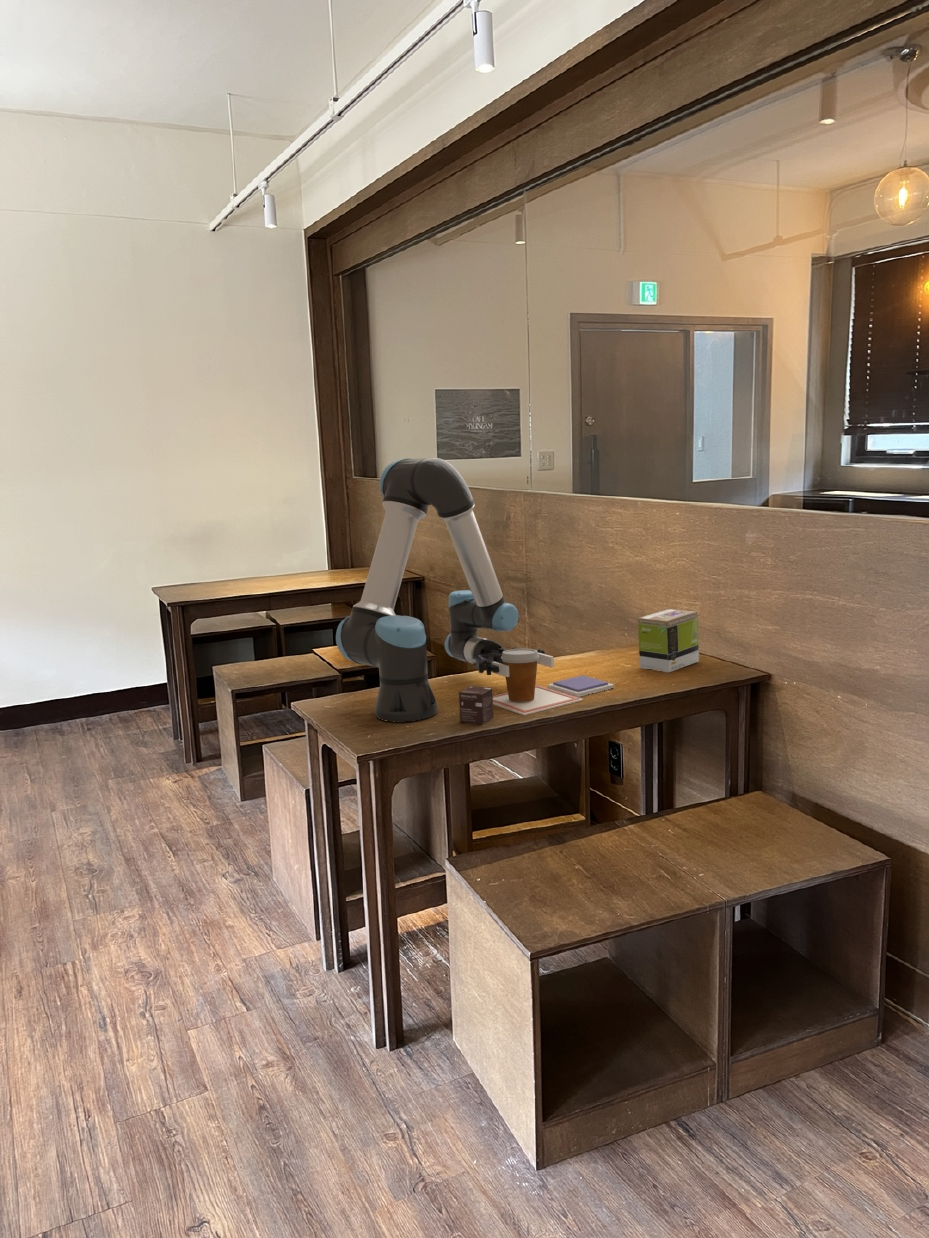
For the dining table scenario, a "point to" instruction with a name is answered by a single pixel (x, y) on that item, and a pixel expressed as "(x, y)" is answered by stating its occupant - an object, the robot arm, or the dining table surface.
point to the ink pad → (580, 686)
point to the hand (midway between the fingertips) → (530, 666)
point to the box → (476, 704)
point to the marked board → (535, 701)
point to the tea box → (668, 640)
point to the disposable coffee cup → (521, 673)
